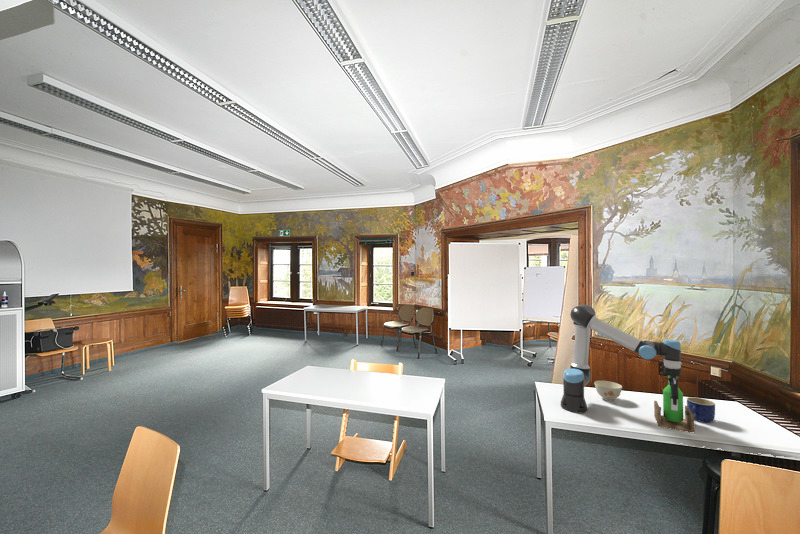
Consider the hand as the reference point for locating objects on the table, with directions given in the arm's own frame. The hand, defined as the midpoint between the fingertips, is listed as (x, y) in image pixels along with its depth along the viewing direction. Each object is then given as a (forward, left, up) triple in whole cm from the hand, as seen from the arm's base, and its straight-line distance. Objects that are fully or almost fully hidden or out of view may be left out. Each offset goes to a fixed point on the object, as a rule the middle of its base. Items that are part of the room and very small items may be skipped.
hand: (672, 407), depth 189 cm
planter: (+15, +16, -10) cm, 24 cm away
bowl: (-31, +25, -10) cm, 41 cm away
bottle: (0, 0, -7) cm, 7 cm away
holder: (0, 0, -10) cm, 10 cm away
